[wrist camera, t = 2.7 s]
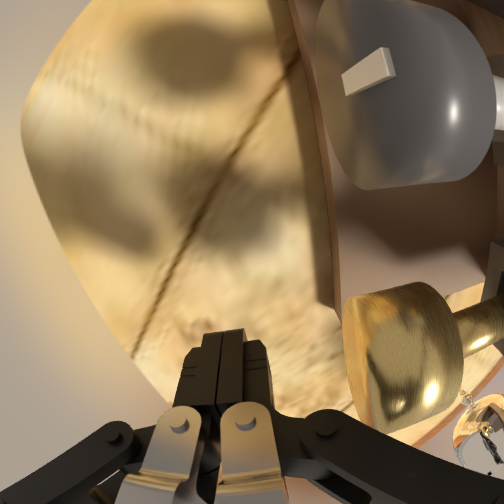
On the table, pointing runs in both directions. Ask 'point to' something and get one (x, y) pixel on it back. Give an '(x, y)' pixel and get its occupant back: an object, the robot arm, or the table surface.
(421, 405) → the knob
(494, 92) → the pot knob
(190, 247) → the table surface
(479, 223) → the mount
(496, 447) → the wineglass
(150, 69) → the table surface
